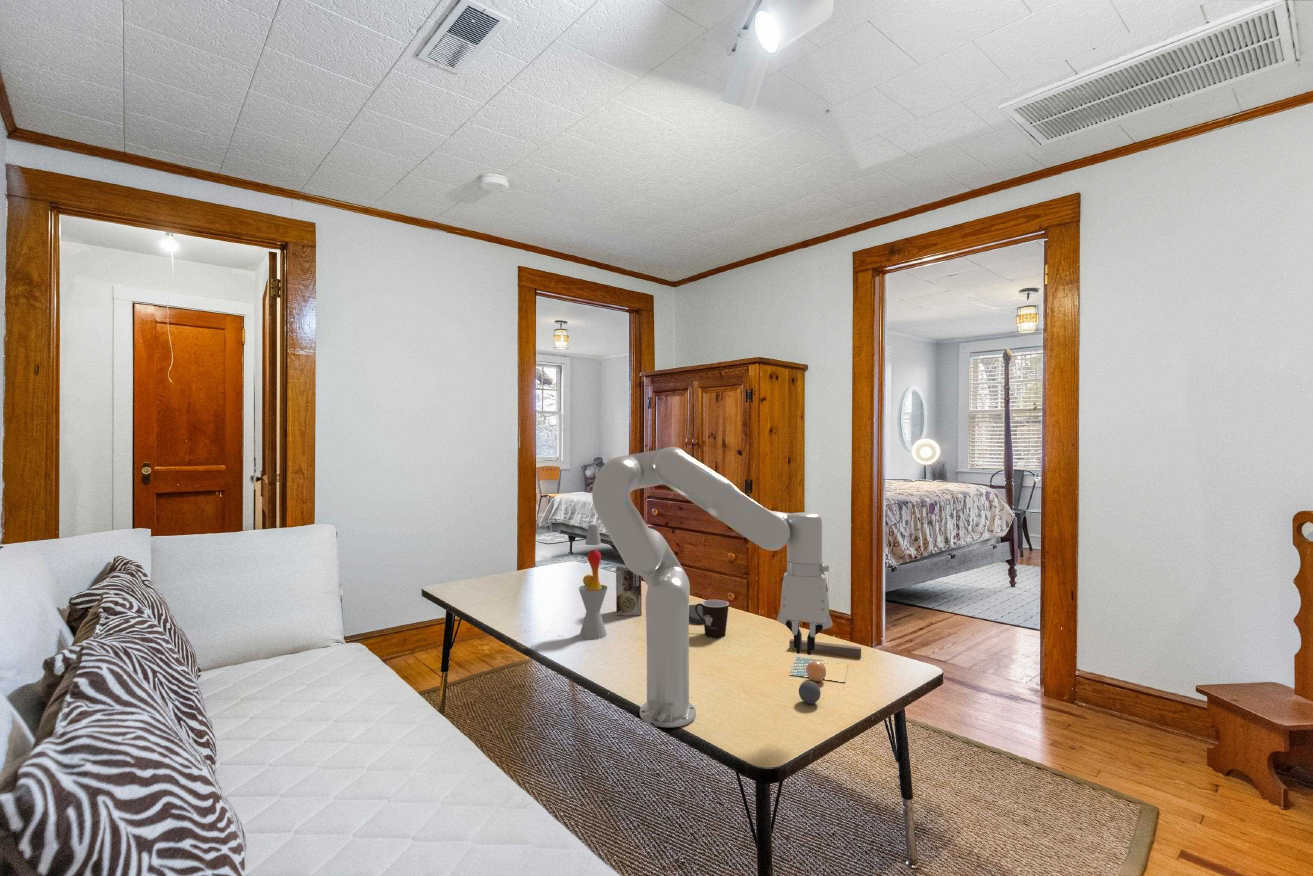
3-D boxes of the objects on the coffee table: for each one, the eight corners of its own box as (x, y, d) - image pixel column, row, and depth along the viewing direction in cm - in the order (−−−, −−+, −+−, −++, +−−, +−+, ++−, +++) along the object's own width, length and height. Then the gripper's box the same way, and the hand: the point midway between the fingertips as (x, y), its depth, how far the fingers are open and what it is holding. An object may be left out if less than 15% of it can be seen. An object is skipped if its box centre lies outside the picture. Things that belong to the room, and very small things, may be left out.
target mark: (844, 683, 155) (844, 682, 155) (789, 675, 160) (789, 674, 160) (848, 664, 168) (848, 663, 168) (796, 657, 173) (796, 656, 173)
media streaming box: (670, 617, 214) (670, 608, 214) (700, 609, 223) (700, 601, 223) (699, 627, 202) (699, 618, 202) (730, 618, 212) (730, 610, 212)
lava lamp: (609, 630, 197) (609, 522, 197) (604, 640, 188) (604, 526, 188) (582, 630, 198) (582, 522, 198) (575, 639, 189) (575, 526, 189)
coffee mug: (733, 637, 191) (733, 605, 191) (709, 640, 188) (709, 608, 188) (716, 626, 202) (716, 596, 201) (692, 629, 198) (692, 598, 198)
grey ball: (819, 709, 140) (819, 687, 140) (797, 705, 142) (797, 684, 142) (821, 700, 145) (821, 679, 145) (800, 697, 147) (800, 676, 147)
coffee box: (641, 610, 220) (641, 565, 220) (641, 615, 214) (641, 569, 214) (616, 610, 220) (616, 565, 220) (615, 615, 214) (615, 569, 214)
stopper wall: (860, 658, 173) (860, 649, 173) (789, 649, 180) (789, 640, 180) (861, 655, 175) (861, 647, 175) (790, 647, 182) (790, 638, 182)
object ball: (825, 685, 154) (825, 666, 154) (805, 683, 155) (805, 663, 155) (827, 678, 158) (827, 659, 158) (807, 675, 160) (807, 656, 160)
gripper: (842, 568, 135) (842, 651, 136) (771, 563, 141) (771, 642, 141) (840, 575, 128) (840, 663, 129) (765, 569, 134) (765, 653, 134)
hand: (804, 651), depth 135 cm, fingers closed
